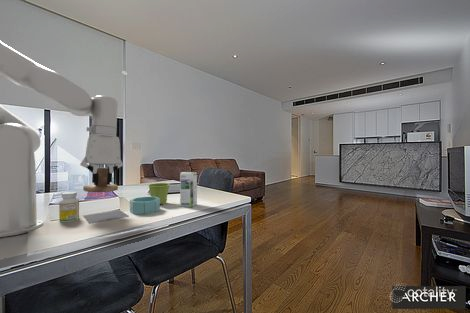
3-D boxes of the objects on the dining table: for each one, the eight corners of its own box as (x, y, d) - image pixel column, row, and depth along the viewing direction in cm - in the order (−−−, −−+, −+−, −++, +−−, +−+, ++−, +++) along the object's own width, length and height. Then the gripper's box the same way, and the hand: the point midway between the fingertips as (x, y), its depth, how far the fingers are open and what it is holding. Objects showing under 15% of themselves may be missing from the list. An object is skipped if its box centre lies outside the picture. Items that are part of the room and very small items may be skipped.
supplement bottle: (71, 223, 72) (71, 194, 72) (55, 223, 72) (54, 194, 72) (83, 218, 78) (82, 191, 77) (67, 218, 78) (67, 191, 77)
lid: (86, 193, 71) (87, 169, 71) (81, 187, 79) (82, 166, 79) (121, 190, 78) (122, 169, 78) (113, 186, 86) (114, 166, 86)
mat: (89, 225, 70) (89, 223, 70) (82, 217, 79) (82, 215, 79) (129, 217, 78) (129, 216, 78) (119, 211, 87) (119, 209, 87)
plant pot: (173, 201, 104) (173, 183, 104) (165, 206, 95) (164, 186, 95) (154, 201, 105) (154, 182, 105) (144, 205, 96) (143, 185, 96)
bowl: (136, 217, 79) (136, 203, 79) (127, 211, 86) (127, 199, 86) (163, 212, 86) (163, 199, 86) (152, 207, 93) (152, 195, 93)
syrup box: (179, 206, 94) (179, 172, 94) (185, 203, 100) (185, 171, 100) (192, 207, 93) (192, 172, 93) (197, 204, 99) (197, 171, 99)
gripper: (77, 128, 70) (74, 187, 70) (132, 134, 81) (130, 184, 81) (74, 130, 75) (71, 184, 75) (125, 135, 86) (123, 182, 86)
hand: (101, 184), depth 78 cm, fingers closed on lid, 3 cm apart
